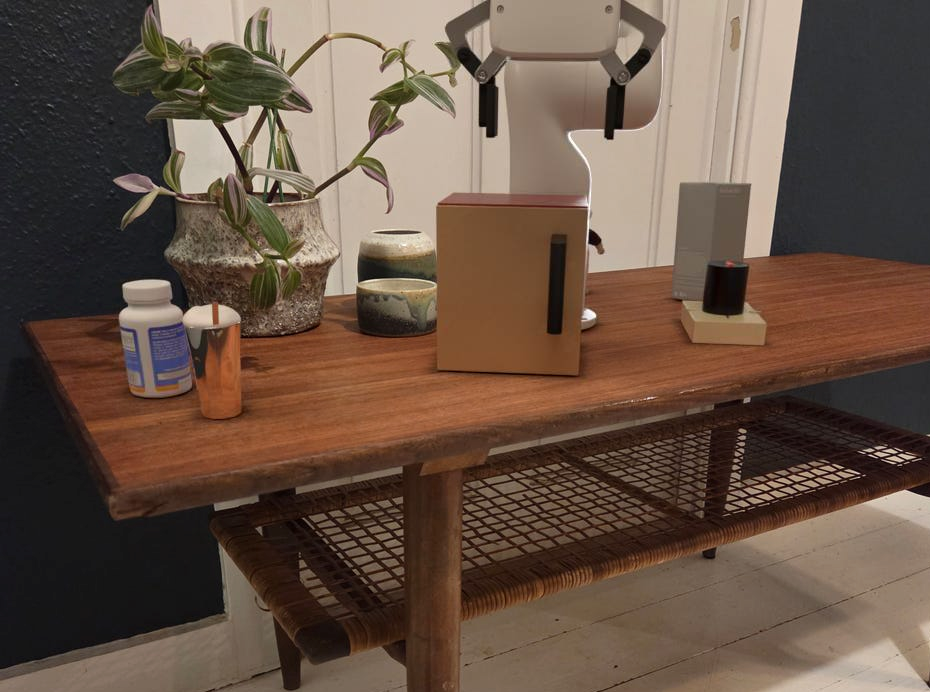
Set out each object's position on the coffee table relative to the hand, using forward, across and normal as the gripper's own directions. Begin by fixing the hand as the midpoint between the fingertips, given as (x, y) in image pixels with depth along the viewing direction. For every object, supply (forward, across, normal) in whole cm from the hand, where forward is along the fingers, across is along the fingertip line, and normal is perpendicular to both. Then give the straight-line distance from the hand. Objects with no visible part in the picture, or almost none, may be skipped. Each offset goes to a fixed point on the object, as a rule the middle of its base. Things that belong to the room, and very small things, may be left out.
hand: (549, 138), depth 72 cm
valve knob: (+19, -20, -29) cm, 40 cm away
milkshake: (+22, +26, +10) cm, 36 cm away
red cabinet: (+22, +4, -14) cm, 26 cm away
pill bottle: (+22, +34, +4) cm, 41 cm away
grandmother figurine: (+22, -3, -52) cm, 56 cm away
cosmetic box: (+22, -21, -50) cm, 58 cm away
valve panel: (+22, -20, -29) cm, 41 cm away
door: (+22, +3, -4) cm, 22 cm away
